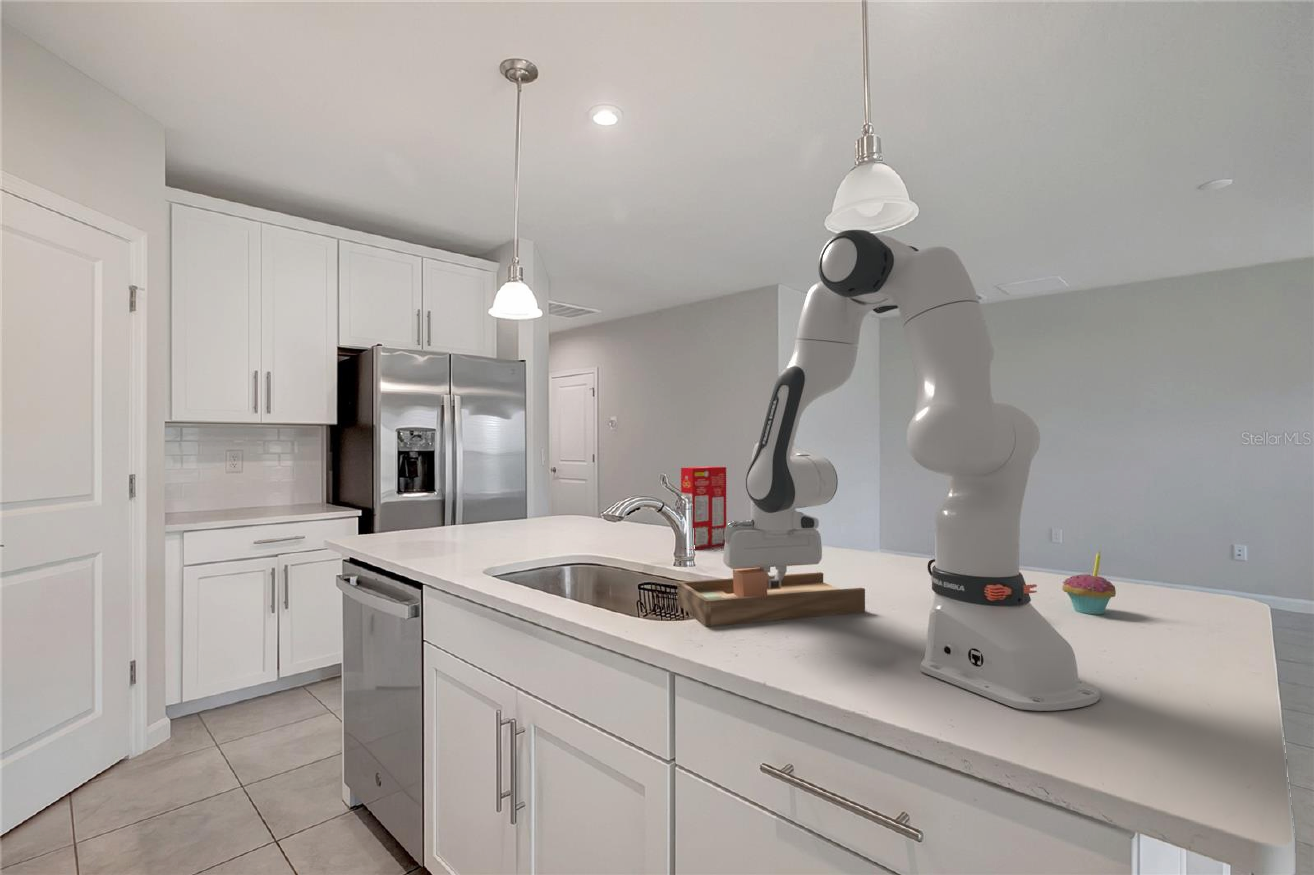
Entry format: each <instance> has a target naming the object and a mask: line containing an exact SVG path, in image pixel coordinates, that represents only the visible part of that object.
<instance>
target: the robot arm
mask: <svg viewBox="0 0 1314 875" xmlns="http://www.w3.org/2000/svg"><path fill="white" fill-rule="evenodd" d="M823 246H824V247H822V250H821V252H820V256H819V258H818V263H817V264H818V275H819V278H820V280H821V281H819V282H817V283H815V284H814V285H812V286H811V287H810V288H809V290H808V292H807V294H806V296H805V299H804V304H803V305H802V306H803V307H802V309H801V312H800V317H799V321H798V325H797V331H796V332H797V333H796V338H795V343H794V348H793V351H792V352H793V353H792V356H791V358H790V359H789V363H788V364H787V366H786V368H785V369H784V370H783V371H782V372H781V373H780V374H779V376H778V377H777V380H776V382H775V384H774V387H773V391H772V393H771V396H770V399H769V400H770V401H769V404H768V409H767V412H766V415H765V419H764V423H763V426H762V431H761V434H760V438H759V441H758V442H757V443H756V444H755V445H754V447H753V449H752V454H751V455H752V456H751V463H750V465H749V467H748V469H747V473H746V476H745V489H746V492H747V495H748V496H749V499H750V519H745V520H732V521H731V522H730V523H728V524H726V527H725V529H724V539H725V545H724V546H723V559H722V561H723V564H724V565H725V567H727V568H729V569H732V570H733V569H745V568H760V569H762V570H764V571H766V572H767V589H768V590H770V589H781V580H782V579H783V577H784V575H786V573H787V571H788V570H787V568H788V567H794V566H796V567H797V566H809V565H810V566H811V565H819V564H820V563H821V561H822V559H823V545H822V536H821V533H820V532H819V530H818V528H819V524H820V523H819V522H820V520H819V519H818V518H817V517H814V516H811V515H808V514H806V513H804V512H802V511H797V510H796V509H802V508H803V509H804V508H810V507H818V506H823V505H826V504H828V503H829V502H831V500H832V499H833V498H834V497H835V495H836V493H837V491H838V490H837V489H838V480H839V479H838V475H837V474H838V473H837V471H836V469H835V466H834V465H833V463H832V462H830V461H829V459H827V458H824V457H822V456H817V455H815V454H813V453H811V452H808V451H806V450H804V449H802V448H801V447H799V446H797V445H796V443H795V438H796V436H797V432H798V428H799V424H800V421H801V417H802V415H803V413H804V411H805V409H806V408H807V407H808V406H809V405H810V404H812V403H813V402H814V401H815V400H817V399H818V398H821V397H822V396H824V395H826V394H828V393H831V392H834V391H835V390H837V389H838V388H840V387H841V386H843V385H844V384H845V383H846V382H847V381H848V380H849V379H850V378H851V375H852V374H853V371H854V369H855V365H856V361H857V356H858V349H859V342H860V333H861V327H862V324H863V320H864V318H865V317H866V316H867V315H868V313H870V312H871V311H873V312H875V313H876V314H883V313H886V312H889V311H892V310H897V309H898V310H899V314H900V315H899V316H900V318H901V322H902V328H903V331H904V333H905V337H906V340H907V341H906V342H907V346H908V349H909V350H908V351H909V354H910V357H911V361H912V364H913V370H914V376H915V377H914V378H915V411H914V415H913V416H912V419H911V420H910V422H909V424H908V427H907V432H906V444H907V448H908V452H909V453H910V455H911V457H912V459H914V461H915V462H916V463H917V464H919V465H920V467H922V468H925V469H926V470H928V471H930V472H934V473H937V474H940V475H943V476H948V477H950V478H949V482H948V486H947V490H946V494H944V495H945V496H944V498H943V500H942V503H941V504H940V506H938V509H937V511H936V514H935V518H934V555H935V556H934V557H935V558H934V559H935V562H934V565H933V566H932V568H931V571H932V575H930V579H931V580H930V581H931V590H932V591H933V592H934V597H933V598H934V599H933V603H932V606H931V610H930V612H929V618H928V627H927V634H926V635H927V636H926V645H925V646H926V647H925V651H924V655H923V660H922V661H921V662H920V667H919V668H920V669H919V670H920V671H921V673H923V674H926V675H929V676H932V677H934V678H936V679H939V680H942V681H944V682H947V683H949V684H952V685H955V686H957V687H960V688H962V689H965V690H967V691H970V692H972V693H974V694H978V695H980V696H983V697H985V698H988V699H991V700H993V701H996V702H998V703H1001V704H1003V705H1006V706H1009V707H1011V708H1014V709H1017V710H1025V711H1044V712H1045V711H1047V712H1050V711H1063V710H1071V709H1077V708H1082V707H1086V706H1091V705H1092V704H1095V703H1097V702H1098V701H1099V700H1100V699H1101V694H1100V693H1101V692H1100V689H1099V688H1098V687H1096V686H1094V685H1092V684H1090V683H1088V682H1086V681H1083V680H1082V679H1080V678H1079V673H1078V672H1079V671H1078V665H1077V659H1076V655H1075V651H1074V649H1073V647H1072V645H1071V644H1070V642H1068V640H1066V639H1065V638H1064V637H1063V636H1062V635H1061V634H1060V633H1059V632H1058V631H1057V630H1056V629H1055V628H1054V627H1053V625H1052V624H1050V623H1049V622H1048V620H1046V618H1045V617H1044V616H1043V615H1042V614H1041V613H1040V612H1039V611H1038V610H1037V609H1036V608H1035V607H1034V606H1033V604H1031V601H1032V598H1031V595H1030V594H1036V593H1037V592H1038V591H1037V590H1031V589H1033V588H1036V587H1037V586H1038V585H1037V584H1035V583H1034V584H1026V581H1025V578H1024V576H1023V574H1022V573H1021V572H1020V537H1021V536H1020V528H1021V527H1020V526H1021V516H1022V507H1023V502H1024V497H1025V493H1026V488H1027V484H1028V479H1029V474H1030V470H1031V465H1032V460H1033V459H1034V457H1035V456H1036V454H1037V452H1038V451H1039V448H1040V445H1041V444H1040V443H1041V435H1040V434H1041V433H1040V429H1039V427H1038V425H1037V424H1036V421H1034V419H1033V418H1032V417H1031V416H1029V414H1026V413H1025V412H1024V411H1022V409H1019V408H1017V407H1015V406H1013V405H1011V404H1009V403H1004V402H996V401H994V399H993V395H992V390H991V364H992V362H993V360H994V357H995V356H994V355H995V351H994V347H993V343H992V340H991V337H990V333H989V330H988V327H987V323H986V321H985V317H984V314H983V310H982V307H981V303H980V300H979V297H978V294H977V292H976V289H975V286H974V284H973V281H972V279H971V277H970V275H969V273H968V272H967V270H966V267H965V266H964V264H963V262H962V260H961V258H960V257H959V255H958V254H957V253H956V252H955V251H954V250H953V249H951V248H948V247H945V246H929V247H925V248H921V249H918V248H916V247H914V246H911V245H907V244H906V243H903V242H901V241H898V240H896V239H895V238H893V237H890V236H888V235H887V236H886V235H883V234H880V233H873V232H871V231H868V230H866V229H865V230H864V229H847V230H843V231H840V232H838V233H836V234H834V235H832V237H830V238H829V240H828V241H827V242H826V243H825V245H823ZM771 568H775V570H777V572H776V574H775V575H776V576H775V579H770V577H769V576H770V575H769V573H771Z"/></svg>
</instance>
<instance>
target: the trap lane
mask: <svg viewBox="0 0 1314 875" xmlns="http://www.w3.org/2000/svg"><path fill="white" fill-rule="evenodd" d="M775 576H776V574H774V575H769V577H770V579H775ZM676 587H677V597H676V598H677V605H678V606H679V607H680V608H682V609H683V610H685V611H686V612H687V613H688V614H689V615H691V616H692V617H693V618H695V620H697V621H698V622H700V623H701V625H703V626H704V627H714V626H725V625H737V624H746V623H747V624H748V623H758V622H769V621H770V622H771V621H781V620H789V619H790V620H793V619H803V618H814V617H815V618H816V617H823V616H824V617H825V616H827V617H828V616H836V615H837V616H838V615H847V614H857V613H858V614H859V613H865V612H866V589H865V587H855V588H842V589H841V588H838V587H836V586H833V585H831V584H829V583H826V582H824V573H823V572H821V571H819V572H809V573H808V572H806V573H791V574H790V573H789V574H785V575H784V577H783V579H782V580H781V589H770V590H768V589H767V595H760V596H747V597H738V596H736V595H735V594H734V588H733V577H732V578H731V577H730V578H729V577H728V578H718V579H717V578H716V579H702V580H687V581H677V586H676Z"/></svg>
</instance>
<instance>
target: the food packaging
mask: <svg viewBox="0 0 1314 875" xmlns="http://www.w3.org/2000/svg"><path fill="white" fill-rule="evenodd" d="M681 492H682V493H683V494H685V495H686V496H687V497H689V498H690V501H692V504H693V528H694V545H695V549H696V550H695V551H697V550H704V549H709V548H717V547H724V546H725V539H724V529H725V527H726V526H727V467H726V466H694V467H693V466H692V467H690V466H689V467H680V493H681Z"/></svg>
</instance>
